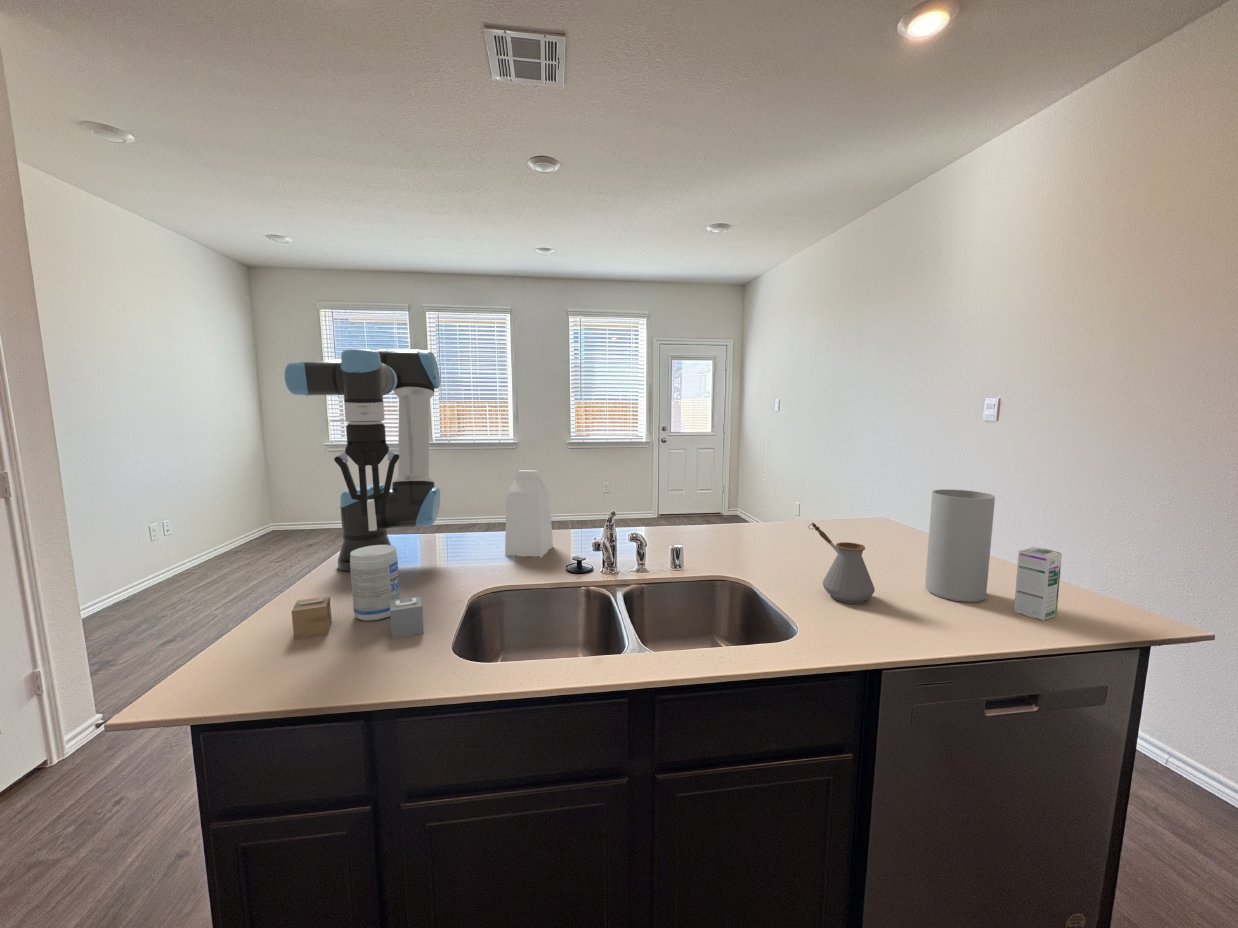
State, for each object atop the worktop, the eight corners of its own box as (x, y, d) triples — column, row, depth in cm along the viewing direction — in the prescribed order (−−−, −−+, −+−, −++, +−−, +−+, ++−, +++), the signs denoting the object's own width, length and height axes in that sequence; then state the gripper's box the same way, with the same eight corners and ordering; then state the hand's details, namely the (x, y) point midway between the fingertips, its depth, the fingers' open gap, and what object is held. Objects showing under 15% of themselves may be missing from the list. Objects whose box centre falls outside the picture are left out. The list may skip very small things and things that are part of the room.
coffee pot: (885, 604, 117) (889, 541, 115) (842, 608, 114) (846, 545, 113) (827, 574, 138) (830, 520, 136) (790, 577, 135) (792, 523, 133)
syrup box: (1044, 621, 107) (1051, 556, 106) (1012, 611, 113) (1018, 549, 111) (1056, 616, 110) (1063, 552, 108) (1025, 606, 115) (1031, 545, 114)
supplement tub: (404, 615, 112) (400, 551, 110) (356, 626, 106) (352, 559, 105) (396, 601, 120) (392, 541, 118) (351, 610, 114) (347, 548, 113)
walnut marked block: (299, 627, 106) (296, 598, 105) (331, 622, 108) (329, 594, 108) (294, 639, 101) (291, 609, 100) (328, 633, 103) (326, 604, 102)
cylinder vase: (995, 596, 121) (1005, 495, 118) (970, 607, 115) (979, 500, 112) (941, 581, 132) (948, 487, 129) (914, 590, 126) (921, 492, 122)
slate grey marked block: (392, 627, 106) (390, 598, 105) (422, 622, 108) (420, 594, 108) (391, 639, 101) (389, 609, 100) (423, 633, 103) (422, 604, 102)
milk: (505, 555, 156) (502, 472, 152) (518, 545, 167) (516, 467, 164) (542, 557, 154) (540, 473, 150) (553, 546, 165) (551, 468, 162)
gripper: (328, 424, 102) (337, 536, 105) (398, 423, 107) (405, 530, 110) (332, 422, 109) (341, 528, 112) (398, 421, 114) (404, 522, 117)
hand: (372, 529), depth 111 cm, fingers closed
